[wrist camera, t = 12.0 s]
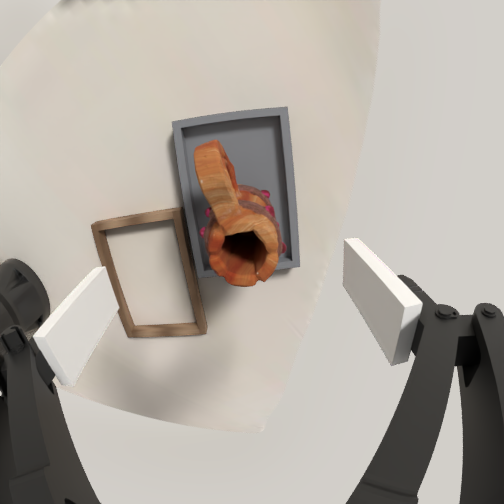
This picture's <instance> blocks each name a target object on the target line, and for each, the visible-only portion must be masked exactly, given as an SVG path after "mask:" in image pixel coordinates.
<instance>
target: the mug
mask: <svg viewBox="0 0 504 504" xmlns="http://www.w3.org/2000/svg"><path fill="white" fill-rule="evenodd" d="M194 164H195V172H196V176H197V179H198V183H199V186H200V188H201V191H202V193H203V194H204V196H205V198H206V200H207V201H208V203H209V204H210V206H211V207H208V208H207V209H206V210H205V215H206V217H208V218H210V220H209V222H208V224H207V226H206V227H203V228H201V229H200V231H199V234H200V236H201V237H202V238H204V241H205V249H206V251H207V254H208V256H209V264H210V266H211V268H212V269H213V270H214V272H215V273H216V274H217V275H218V276H223V277H224V278H225V280H226V281H227V282H228V283H229V284H231V285H234V286H240V287H248V286H253V285H255V284H256V282H257V281H258V280H261V281H263V282H265V281H266V280H267V279H268V278H269V277H270V276H271V275H272V273H273V272H274V270H275V269H276V266H277V264H278V260H279V256H280V255H281V254H283V253H285V251H286V245H285V244H284V243H283V242H282V237H281V233H280V229H279V223H278V222H277V221H276V217H275V211H274V207H273V206H272V204H271V202H270V200H269V197H270V193H269V191H267V190H261V191H260V190H259V189H257V188H255V187H252V186H247V185H242V184H237V182H236V176H235V170H234V166H233V164H232V163H231V162H230V160H229V158H228V156H227V154H226V152H225V150H224V148H223V146H222V145H221V143H220V142H219V141H218V140H216V139H215V140H212V141H209V142H206V143H204V144H201V145H199V146H197V147H196V148H195V150H194Z"/></svg>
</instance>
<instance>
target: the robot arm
mask: <svg viewBox="0 0 504 504" xmlns="http://www.w3.org/2000/svg"><path fill="white" fill-rule="evenodd" d="M343 286H344V288H345V289H346V291H347V293H348V294H349V296H350V297H351V299H352V301H353V302H354V304H355V305H356V307H357V309H358V310H359V312H360V314H361V315H362V317H363V319H364V320H365V322H366V323H367V325H368V327H369V328H370V330H371V332H372V334H373V335H374V337H375V339H376V340H377V342H378V344H379V346H380V347H381V349H382V351H383V352H384V354H385V356H386V358H387V359H388V361H389V363H390V365H391V366H393V365H396V364H400V363H404V362H407V361H408V358H409V355H410V352H411V350H412V352H413V353H414V355H415V356H416V357H415V360H414V363H413V366H412V369H411V372H410V375H409V378H408V380H407V383H406V386H405V389H404V392H403V394H402V396H401V399H400V401H399V404H398V406H397V409H396V411H395V413H394V416H393V418H392V420H391V422H390V425H389V427H388V429H387V431H386V433H385V435H384V437H383V440H382V442H381V444H380V446H379V448H378V449H377V451H376V453H375V455H374V457H373V459H372V461H371V463H370V465H369V466H368V468H367V470H366V472H365V473H364V475H363V477H362V478H361V480H360V482H359V484H358V485H357V487H356V488H355V490H354V492H353V493H352V495H351V496H350V498H349V500H348V501H347V502H346V504H417V503H418V498H417V493H418V490H419V488H420V485H421V483H422V480H423V478H424V475H425V473H426V470H427V468H428V465H429V462H430V460H431V457H432V454H433V451H434V448H435V445H436V442H437V439H438V436H439V432H440V429H441V425H442V422H443V418H444V414H445V410H446V406H447V402H448V397H449V393H450V388H451V383H452V377H453V372H454V366H457V370H458V377H459V386H460V395H461V407H462V424H463V468H462V484H461V495H460V504H504V316H503V314H502V312H501V311H500V309H498V308H497V307H496V306H495V305H492V304H490V303H489V304H488V303H480V304H478V305H477V306H476V308H475V310H474V313H473V315H459V313H458V311H457V310H456V309H454V308H453V307H451V306H448V305H443V304H438V305H437V304H436V303H435V302H434V301H433V300H432V299H431V298H430V297H429V296H428V295H427V294H426V293H425V292H424V291H422V289H421V288H420V287H419V286H417V284H416V283H415V282H414V281H413V280H412V279H410V278H408V277H406V276H404V275H398V276H396V275H395V274H394V273H393V272H392V271H391V270H390V269H389V268H388V267H387V266H386V265H385V264H384V263H383V262H382V261H381V260H380V259H379V258H378V257H377V256H376V255H375V254H374V253H373V252H372V251H371V250H370V249H369V248H368V247H367V246H366V245H365V244H364V243H362V242H361V241H360V240H359V239H358V238H349V239H344V267H343ZM118 309H119V305H118V303H117V300H116V297H115V294H114V291H113V288H112V285H111V282H110V279H109V276H108V273H107V270H106V267H105V266H104V267H96V268H94V269H93V270H92V271H91V272H90V273H89V274H88V275H87V276H86V277H85V278H84V279H83V280H82V281H81V282H80V283H79V284H78V285H77V287H76V288H75V289H74V290H73V291H72V292H71V293H70V294H69V295H68V296H67V297H66V298H65V300H64V301H63V302H62V303H61V304H60V305H59V306H58V307H57V308H56V310H55V311H54V312H53V313H52V314H51V315H50V316H49V313H50V304H49V299H48V296H47V293H46V291H45V288H44V286H43V284H42V283H41V281H40V279H39V278H38V276H37V275H36V274H35V272H34V271H33V270H32V269H31V268H30V267H29V266H28V265H26V264H25V263H23V262H22V261H20V260H17V259H8V260H6V261H5V262H3V263H2V264H1V265H0V391H1V392H2V395H1V396H0V504H101V503H100V502H99V500H98V498H97V497H96V495H95V492H94V490H93V489H92V487H91V484H90V482H89V480H88V478H87V476H86V473H85V471H84V469H83V467H82V464H81V462H80V459H79V457H78V455H77V452H76V450H75V447H74V444H73V441H72V439H71V436H70V433H69V430H68V427H67V424H66V421H65V418H64V414H63V411H62V408H61V404H60V400H59V397H58V393H57V389H56V386H55V384H54V383H53V381H52V380H53V378H54V377H55V376H56V377H57V379H58V380H59V382H60V383H61V385H65V386H72V387H74V385H75V383H76V381H77V379H78V378H79V376H80V374H81V372H82V370H83V368H84V367H85V365H86V363H87V361H88V359H89V358H90V356H91V354H92V352H93V351H94V349H95V347H96V346H97V344H98V342H99V340H100V339H101V337H102V335H103V334H104V332H105V330H106V329H107V327H108V325H109V324H110V322H111V321H112V319H113V317H114V316H115V314H116V312H117V311H118ZM48 317H49V318H48ZM38 328H39V329H38ZM36 329H38V331H37V332H36V333H35V334H34V335H33V337H32V338H31V339H30V340H29V341H28V339H27V338H26V336H25V335H26V334H28V333H30V332H32V331H34V330H36ZM7 353H8V354H7Z"/></svg>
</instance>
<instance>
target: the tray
mask: <svg viewBox="0 0 504 504" xmlns="http://www.w3.org/2000/svg"><path fill="white" fill-rule="evenodd" d="M172 127H173V135H174V142H175V149H176V156H177V163H178V170H179V176H180V183H181V189H182V195H183V201H184V207H185V212H186V218H187V224H188V229H189V234H190V240H191V245H192V250H193V255H194V260H195V265H196V270H197V275H198V278H204V277H214V276H218V275H217V274H216V273H215V272H214V270H213V269H212V268H211V266H210V264H209V256H208V254H207V251H206V249H205V241H204V238H202V237H201V236H200V234H199V231H200V229H201V228H203V227H206V226H207V224H208V222H209V220H210V218H208V217H206V215H205V210H206V209H207V208H208V207H211V206H210V204H209V203H208V201H207V200H206V198H205V196H204V194H203V193H202V191H201V188H200V186H199V183H198V179H197V176H196V172H195V164H194V150H195V148H196V147H197V146H199V145H201V144H204V143H206V142H209V141H212V140H215V139H216V140H218V141H219V142H220V143H221V145H222V146H223V148H224V150H225V152H226V154H227V156H228V158H229V160H230V162H231V163H232V164H233V166H234V170H235V176H236V182H237V184H242V185H247V186H252V187H255V188H257V189H259V190H260V191H261V190H267V191H269V193H270V197H269V200H270V202H271V204H272V206H273V207H274V211H275V217H276V221H277V222H278V223H279V229H280V233H281V237H282V242H283V243H284V244H285V245H286V251H285V253H283V254H281V255H280V256H279V260H278V264H277V266H276V269H275V270H278V269H286V268H295V267H300V255H299V236H298V219H297V205H296V191H295V178H294V167H293V156H292V145H291V135H290V125H289V116H288V107H278V108H265V109H254V110H244V111H236V112H228V113H220V114H213V115H207V116H201V117H195V118H189V119H184V120H178V121H173V122H172Z"/></svg>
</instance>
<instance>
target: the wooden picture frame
mask: <svg viewBox="0 0 504 504" xmlns="http://www.w3.org/2000/svg"><path fill="white" fill-rule="evenodd" d="M168 219H174V223H175V229H176V234H177V239H178V243H179V248H180V253H181V258H182V262H183V267H184V271H185V276H186V280H187V284H188V288H189V293H190V297H191V301H192V305H193V309H194V313H195V317H196V321H197V322H196V323H181V324H163V325H140V326H135V325H134V323H133V320H132V317H131V315H130V312H129V309H128V306H127V304H126V301H125V298H124V295H123V292H122V289H121V286H120V283H119V280H118V276H117V273H116V270H115V267H114V263H113V260H112V257H111V253H110V249H109V246H108V242H107V238H106V235H105V231H104V230H106V229H111V228H117V227H123V226H129V225H136V224H142V223H148V222H155V221H161V220H168ZM91 229H92V232H93V236H94V240H95V243H96V247H97V251H98V254H99V257H100V261H101V264H102V267H104V266H105V267H106V270H107V273H108V276H109V279H110V282H111V285H112V288H113V291H114V294H115V297H116V300H117V303H118V305H119V309H118V313H119V316H120V319H121V321H122V324H123V326H124V329H125V331H126V333H127V336H128V337H158V336H181V335H198V334H206V332H207V322H206V318H205V314H204V310H203V306H202V301H201V297H200V292H199V288H198V283H197V279H196V274H195V269H194V264H193V260H192V255H191V250H190V245H189V239H188V234H187V229H186V224H185V218H184V213H183V207H178V208H172V209H165V210H159V211H153V212H146V213H141V214H135V215H129V216H123V217H118V218H112V219H107V220H102V221H97V222H95V223H94V224H92V225H91Z"/></svg>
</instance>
